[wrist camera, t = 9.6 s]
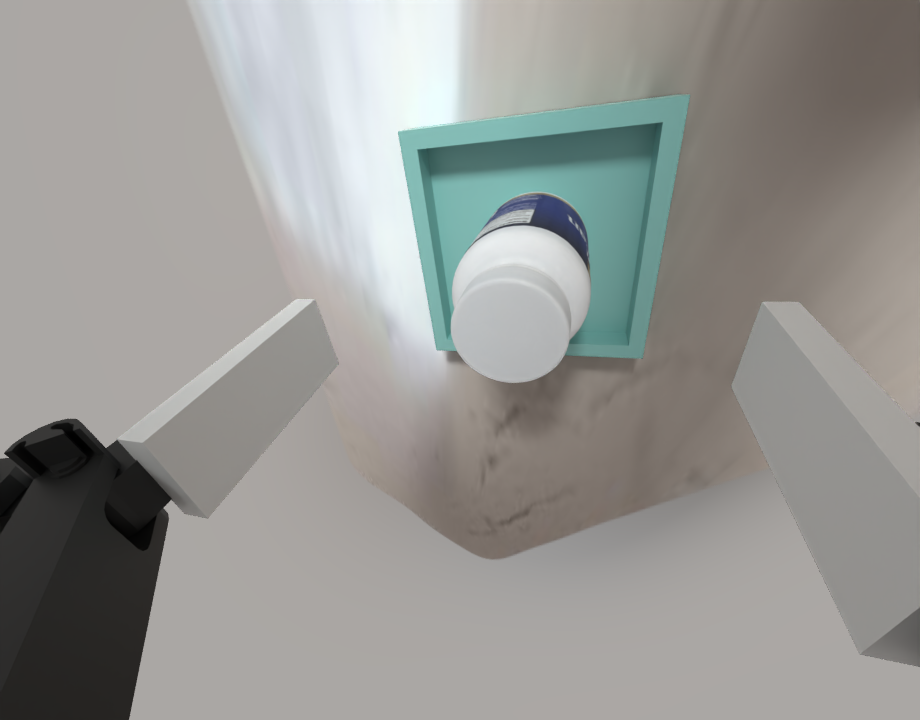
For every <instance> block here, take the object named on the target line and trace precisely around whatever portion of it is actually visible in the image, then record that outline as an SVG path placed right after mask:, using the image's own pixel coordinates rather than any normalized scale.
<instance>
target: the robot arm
mask: <svg viewBox="0 0 920 720" xmlns="http://www.w3.org/2000/svg"><path fill="white" fill-rule="evenodd" d="M338 364H339V362H338V360H337V357H336V354H335V352H334V349H333V346H332V344H331V341H330V338H329V335H328V333H327V330H326V327H325V325H324V322H323V319H322V317H321V314H320V311H319V309H318V306H317V303H316V301H315V299H296V300H295V301H293V302H292V303H291V304H289V305H288V306H287V307H286V308H284V309H283V310H282V311H280V312H279V313H278V314H277V315H275V316H274V317H273V318H272V319H270V320H269V321H268V322H266V323H265V324H264V325H262V326H261V327H260V328H259V329H257V330H256V331H255V332H253V333H252V334H251V335H250V336H248V337H247V338H246V339H244V340H243V341H242V342H241V343H239V344H238V345H237V346H235V347H234V348H233V349H232V350H230V351H229V352H228V353H226V354H225V355H224V356H223V357H221V358H220V359H219V360H217V362H215V363H214V364H212V365H211V366H210V367H209V368H207V369H206V370H205V371H203V372H202V373H201V374H199V375H198V376H197V377H196V378H194V379H193V380H192V381H190V382H189V383H188V384H187V385H185V386H184V387H183V388H182V389H180V390H179V391H178V392H176V393H175V394H174V395H172V396H171V397H170V398H169V399H167V400H166V401H165V402H164V403H162V404H161V405H160V406H158V407H157V408H156V409H155V410H153V411H152V412H151V413H149V414H148V415H147V416H145V418H143V419H142V420H140V421H139V422H138V423H137V424H135V425H134V426H133V427H131V428H130V429H129V430H127V431H126V432H125V433H124V434H122V435H121V436H120V437H119V438H117V440H116V441H115V442H114V443H112V444H111V445H110V446H109V447H107V448H105V447H104V446H103V445H102V444H101V443H100V442H99V441H98V440H97V438H95V436H94V435H93V434H92V433H91V432H90V431H89V430H88V429H87V428H86V427H85V426H84V425H83V424H82V423H81V422H80V421H79V420H77V419H65V420H61V421H56V422H53V423H51V424H48V425H45V426H43V427H41V428H38V429H37V430H35V431H33V432H31V433H29V434H27V435H25V436H24V437H23V438H21V439H20V440H18V441H17V442H15V443H14V444H13V445H12V446H11V447H10V448H9V449H8V450H7V451H6V452H5V453H4V454H5V455H7V456H8V457H9V458H5V459H0V720H129V717H130V712H131V707H132V702H133V697H134V691H135V686H136V682H137V676H138V672H139V666H140V662H141V656H142V652H143V646H144V642H145V637H146V631H147V627H148V621H149V616H150V611H151V606H152V601H153V596H154V591H155V586H156V581H157V576H158V571H159V566H160V561H161V556H162V551H163V546H164V541H165V536H166V531H167V526H168V521H169V517H168V513H167V512H166V511H165V510H164V509H163V508H164V506H166V504H167V503H168V502H169V501H170V500H171V499H172V501H173V502H175V504H176V505H177V506H178V507H179V508H180V509H181V510H182V512H184V514H188V515H193V516H198V517H202V518H209V517H210V515H211V514H212V513H213V512H214V511H215V509H216V508H217V507H218V506H219V505H220V503H221V502H222V501H223V500H224V499H225V498H226V497H227V495H228V494H229V493H230V492H231V491H232V489H233V488H234V487H235V486H236V485H237V483H238V482H239V481H240V480H241V479H242V478H243V476H244V475H245V474H246V473H247V472H248V471H249V469H250V468H251V467H252V466H253V465H254V463H255V462H256V461H257V460H258V459H259V457H260V456H261V455H262V454H263V453H264V452H265V450H266V449H267V448H268V447H269V446H270V445H271V443H272V442H273V441H274V440H275V439H276V438H277V436H278V435H279V434H280V433H281V432H282V430H283V429H284V428H285V427H286V426H287V425H288V423H289V422H290V421H291V420H292V419H293V417H294V416H295V415H296V414H297V413H298V411H299V410H300V409H301V408H302V407H303V406H304V404H305V403H306V402H307V401H308V400H309V398H310V397H311V396H312V395H313V394H314V392H315V391H316V390H317V389H318V388H319V387H320V386H321V384H322V383H323V382H324V381H325V380H326V379H327V377H328V376H329V375H330V374H331V373H332V371H333V370H334V369H335V368H336V367H337V366H338ZM731 388H732V390H733V392H734V394H735V396H736V398H737V400H738V402H739V404H740V406H741V408H742V411H743V413H744V415H745V417H746V419H747V421H748V423H749V425H750V427H751V429H752V431H753V433H754V436H755V438H756V440H757V442H758V444H759V446H760V448H761V450H762V452H763V454H764V456H765V458H766V461H767V463H768V465H769V467H770V469H771V471H772V473H773V475H774V477H775V479H776V481H777V483H778V485H779V488H780V489H781V492H782V494H783V496H784V498H785V500H786V502H787V504H788V506H789V508H790V510H791V513H792V515H793V517H794V519H795V521H796V523H797V525H798V527H799V529H800V531H801V533H802V535H803V537H804V540H805V542H806V544H807V546H808V548H809V550H810V552H811V554H812V556H813V558H814V560H815V563H816V565H817V567H818V569H819V571H820V573H821V575H822V577H823V579H824V581H825V583H826V585H827V587H828V590H829V592H830V594H831V596H832V598H833V600H834V602H835V604H836V606H837V608H838V610H839V612H840V614H841V617H842V619H843V621H844V623H845V625H846V627H847V629H848V631H849V633H850V635H851V637H852V640H853V642H854V644H855V646H856V648H857V650H858V652H859V654H860V655H865V656H870V657H875V658H880V659H885V660H889V661H894V662H899V663H904V664H908V665H914V666H918V667H920V423H918V422H914V421H913V420H912V419H911V418H910V417H909V416H908V415H907V414H906V413H905V411H904V410H903V409H902V408H901V407H900V406H899V405H898V404H897V403H896V402H895V401H894V400H893V399H892V398H891V397H890V396H889V395H888V394H887V393H886V392H885V391H884V390H883V389H882V388H881V387H880V386H879V384H878V383H877V382H876V381H875V380H874V379H873V378H872V377H871V376H870V375H869V374H868V373H867V372H866V371H865V370H864V369H863V368H862V367H861V366H860V365H859V364H858V363H857V362H856V361H855V360H854V359H853V358H852V356H851V355H850V354H849V353H848V352H847V351H846V350H845V349H844V348H843V347H842V346H841V345H840V344H839V343H838V342H837V341H836V340H835V339H834V338H833V337H832V336H831V335H830V334H829V333H828V332H827V331H826V329H825V328H824V327H823V326H822V325H821V324H820V323H819V322H818V321H817V320H816V319H815V318H814V317H813V316H812V315H811V314H810V313H809V312H808V311H807V310H806V309H805V308H804V307H803V306H802V305H801V304H800V302H762V304H761V306H760V309H759V312H758V315H757V317H756V320H755V323H754V325H753V328H752V331H751V334H750V336H749V339H748V342H747V344H746V347H745V350H744V353H743V355H742V358H741V361H740V363H739V366H738V369H737V372H736V374H735V377H734V380H733V382H732V385H731Z"/></svg>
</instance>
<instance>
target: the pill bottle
mask: <svg viewBox="0 0 920 720" xmlns="http://www.w3.org/2000/svg"><path fill="white" fill-rule="evenodd" d="M590 297H591V276H590V262H589V248H588V236H587V231H586V228H585V225H584V222H583V220H582V218H581V216H580V215H579V213H578V212H577V210H576V209H575V208H574V207H573V206H572V205H571V204H570V203H569V202H568V201H566V200H565V199H563V198H561V197H559V196H557V195H554V194H551V193H547V192H528V193H524V194H520V195H518V196H515V197H513V198H511V199H509V200H508V201H506V202H505V203H504V204H502V205H501V206H500V207H499V208H498V209H497V210H496V211H495V212H494V214H493V215H492V216H491V217H490V219H489V220H488V222H487V223H486V224H485V226H484V227H483V229H482V230H481V231H480V233H479V234H478V236H477V237H476V238H475V240H474V241H473V243H472V244H471V246H470V247H469V248H468V250H467V251H466V252H465V254H464V256H463V257H462V259H461V261H460V263H459V265H458V267H457V269H456V272H455V275H454V279H453V285H452V300H453V305H454V311H453V314H452V319H451V336H452V340H453V343H454V346H455V348H456V350H457V352H458V354H459V355H460V357H461V358H462V359H463V360H464V362H465V363H466V364H467V365H468V366H470V367H471V368H472V369H473V370H475V371H476V372H478V373H479V374H481V375H483V376H485V377H487V378H490V379H493V380H496V381H499V382H506V383H522V382H528V381H532V380H535V379H538V378H540V377H542V376H544V375H546V374H547V373H549V372H550V371H552V370H553V369H554V368H555V367H556V366H557V365H558V364H559V363H560V362H561V360H562V358H563V357H564V355H565V353H566V351H567V348H568V345H569V340H570V339H571V338H572V337H573V336H574V335H575V334H576V333H577V332H578V330H579V329H580V327H581V326H582V324H583V322H584V320H585V318H586V315H587V313H588V309H589V305H590Z"/></svg>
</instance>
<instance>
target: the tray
mask: <svg viewBox="0 0 920 720" xmlns="http://www.w3.org/2000/svg"><path fill="white" fill-rule="evenodd" d="M689 99H690V95H686V94H677V95H669V96H662V97H654V98H646V99H638V100H630V101H622V102H615V103H607V104H599V105H591V106H583V107H576V108H568V109H560V110H552V111H544V112H536V113H529V114H521V115H513V116H505V117H497V118H489V119H482V120H474V121H466V122H458V123H450V124H443V125H435V126H427V127H419V128H412V129H408V130H403V131H399V132H398V135H399V141H400V146H401V152H402V158H403V163H404V169H405V174H406V180H407V186H408V191H409V197H410V203H411V208H412V214H413V220H414V225H415V231H416V237H417V242H418V248H419V254H420V259H421V265H422V270H423V276H424V282H425V287H426V293H427V299H428V304H429V310H430V316H431V321H432V327H433V333H434V338H435V344H436V350H444V351H457V350H456V348H455V346H454V343H453V340H452V336H451V319H452V314H453V311H454V305H453V300H452V285H453V279H454V275H455V272H456V269H457V267H458V265H459V263H460V261H461V259H462V257H463V256H464V254H465V252H466V251H467V250H468V248H469V247H470V246H471V244H472V243H473V241H474V240H475V238H476V237H477V236H478V234H479V233H480V231H481V230H482V229H483V227H484V226H485V224H486V223H487V222H488V220H489V219H490V217H491V216H492V215H493V214H494V212H495V211H496V210H497V209H498V208H499V207H500V206H501V205H502V204H504V203H505V202H506V201H508V200H509V199H511V198H513V197H515V196H518V195H520V194H524V193H528V192H547V193H551V194H554V195H557V196H559V197H561V198H563V199H565V200H566V201H568V202H569V203H570V204H571V205H572V206H573V207H574V208H575V209H576V210H577V212H578V213H579V215H580V216H581V218H582V220H583V222H584V225H585V228H586V231H587V236H588V248H589V262H590V276H591V297H590V305H589V309H588V313H587V315H586V318H585V320H584V322H583V324H582V326H581V327H580V329H579V330H578V332H577V333H576V334H575V335H574V336H573V337H572V338H571V339H570V340H569V345H568V348H567V351H566V353H565V355H567V356H591V357H616V358H641V359H643V354H644V348H645V343H646V337H647V331H648V326H649V320H650V315H651V309H652V304H653V298H654V293H655V287H656V282H657V276H658V271H659V265H660V260H661V254H662V248H663V243H664V237H665V232H666V226H667V221H668V215H669V210H670V204H671V199H672V193H673V188H674V182H675V177H676V171H677V166H678V160H679V154H680V149H681V143H682V138H683V132H684V127H685V121H686V116H687V110H688V105H689Z"/></svg>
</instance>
